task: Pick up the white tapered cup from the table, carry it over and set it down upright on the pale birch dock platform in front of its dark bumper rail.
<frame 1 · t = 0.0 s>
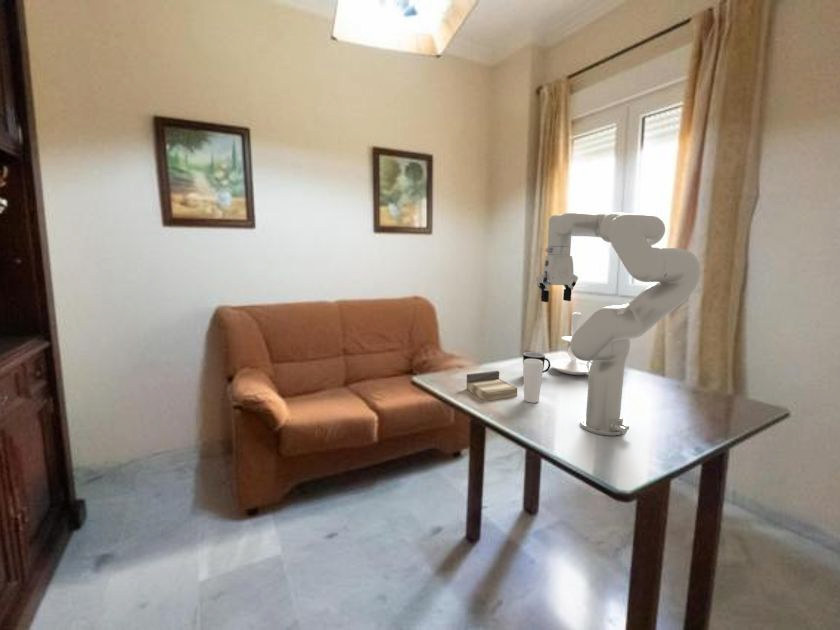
hand: (555, 301, 142), 37 cm above the table, tool pointing down, fingers open, 9 cm apart
white tapered cup: (531, 401, 148), on the table
mug: (536, 377, 177), on the table
dock: (491, 392, 157), on the table
candlestick: (575, 374, 182), on the table
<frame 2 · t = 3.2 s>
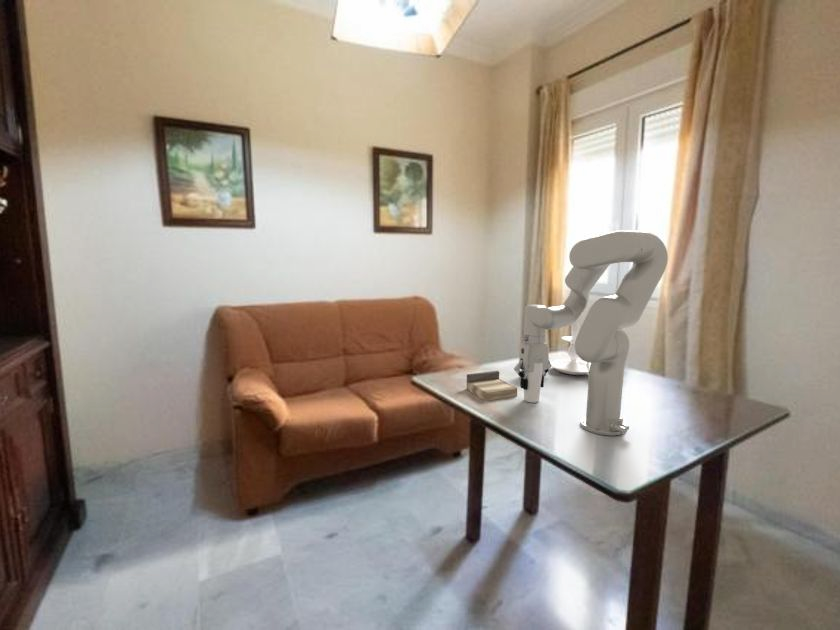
hand: (532, 387, 147), 5 cm above the table, tool pointing down, fingers closed on white tapered cup, 6 cm apart
white tapered cup: (531, 401, 148), on the table, touching gripper
everything else where it was.
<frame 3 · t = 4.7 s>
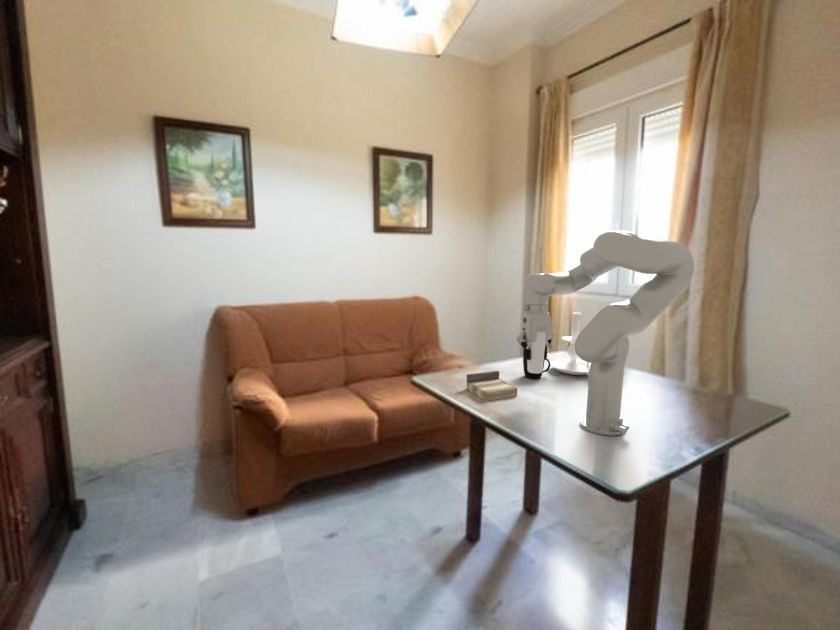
hand: (535, 357, 145), 16 cm above the table, tool pointing down, fingers closed on white tapered cup, 6 cm apart
white tapered cup: (534, 372, 146), point 11 cm above the table, touching gripper
everything else where it was.
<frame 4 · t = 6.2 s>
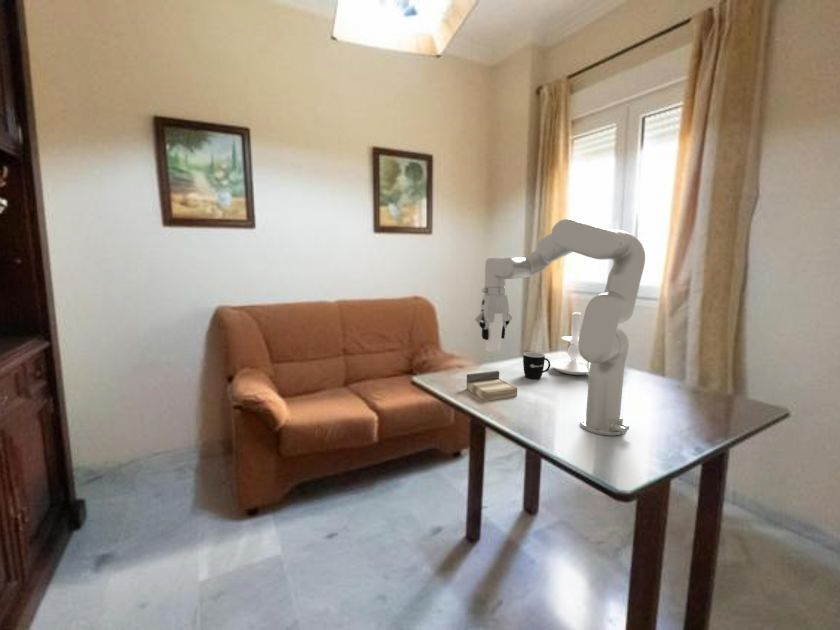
hand: (493, 338, 153), 21 cm above the table, tool pointing down, fingers closed on white tapered cup, 6 cm apart
white tapered cup: (492, 351, 154), point 16 cm above the table, touching gripper
everything else where it was.
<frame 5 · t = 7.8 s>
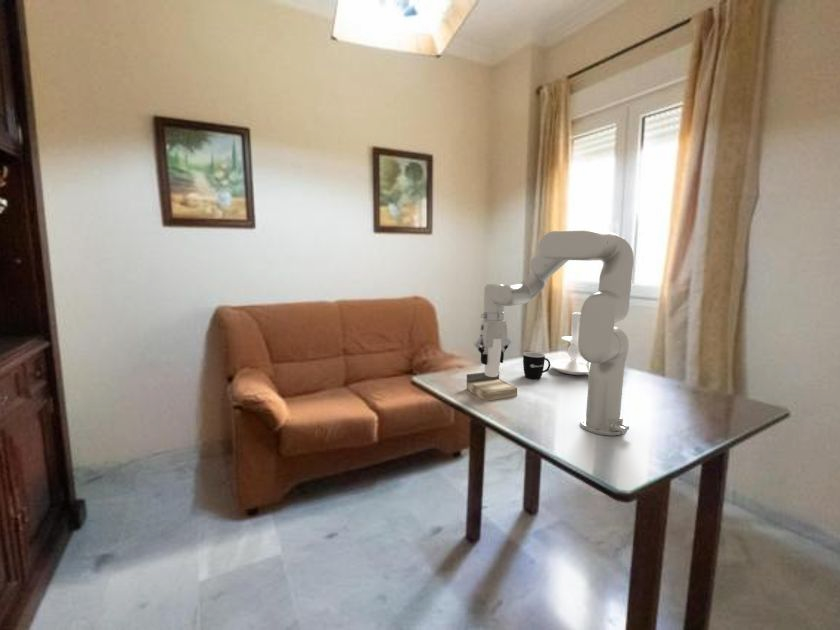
hand: (492, 362, 155), 12 cm above the table, tool pointing down, fingers closed on white tapered cup, 6 cm apart
white tapered cup: (491, 375, 156), point 7 cm above the table, touching gripper
everything else where it was.
when the fingers open (9 cm above the table, at t = 9.2 s): white tapered cup drops 1 cm, resting on dock.
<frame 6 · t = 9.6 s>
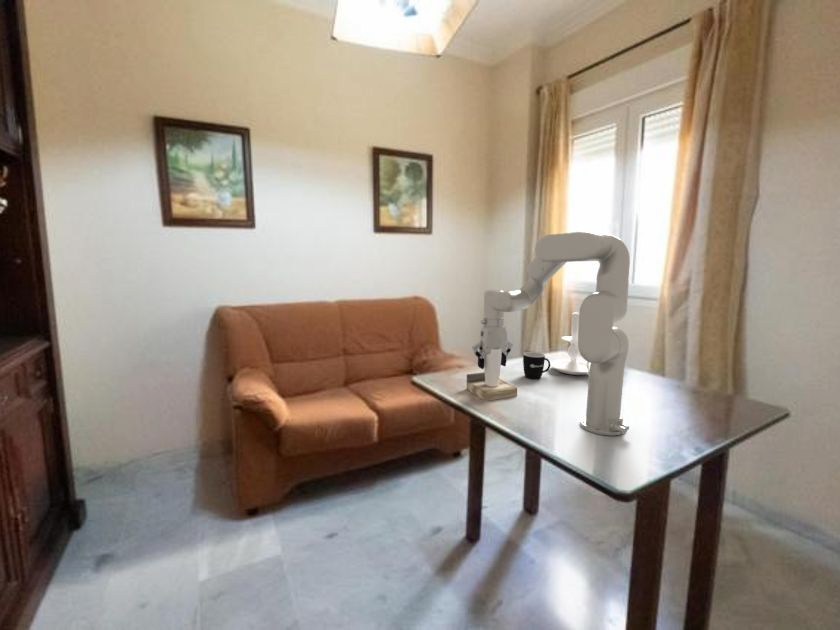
hand: (492, 366, 155), 10 cm above the table, tool pointing down, fingers open, 9 cm apart
white tapered cup: (491, 385, 156), point 3 cm above the table, touching dock
everything else where it was.
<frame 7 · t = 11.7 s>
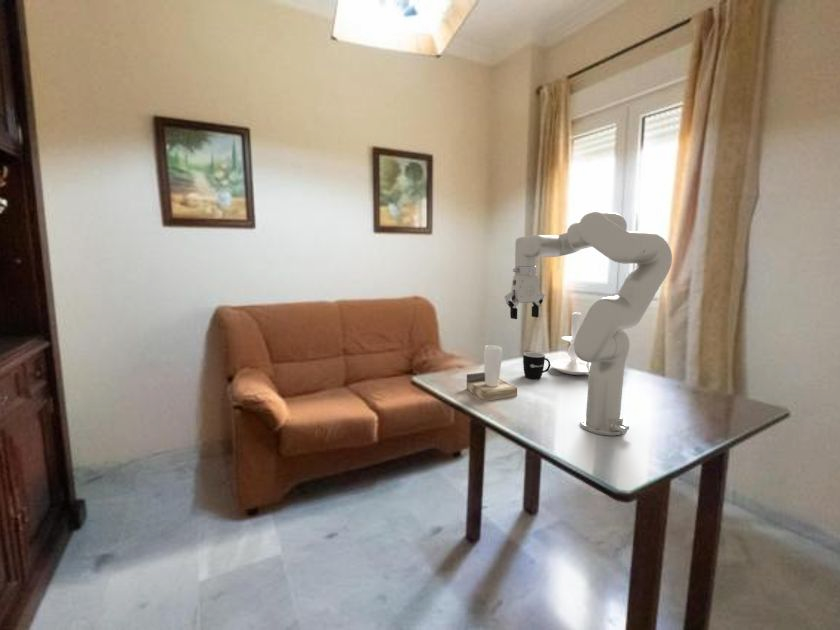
hand: (524, 317, 150), 30 cm above the table, tool pointing down, fingers open, 9 cm apart
nothing on the table moved.
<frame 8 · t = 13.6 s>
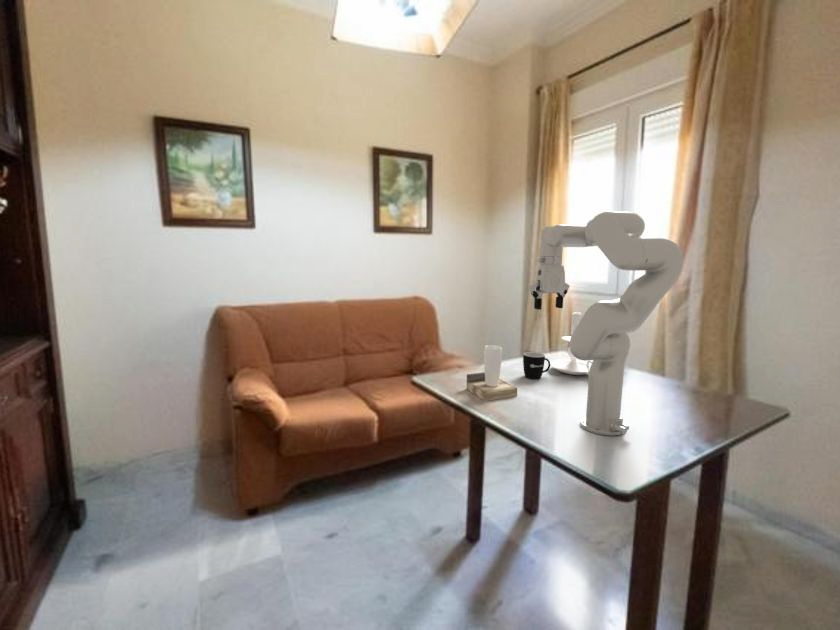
hand: (548, 308, 149), 33 cm above the table, tool pointing down, fingers open, 9 cm apart
nothing on the table moved.
at the end: white tapered cup inside the target area on the dock (0.3 cm from its centre), point 2.8 cm above the dock's base; white tapered cup tilted 0°; the gripper is holding nothing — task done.
